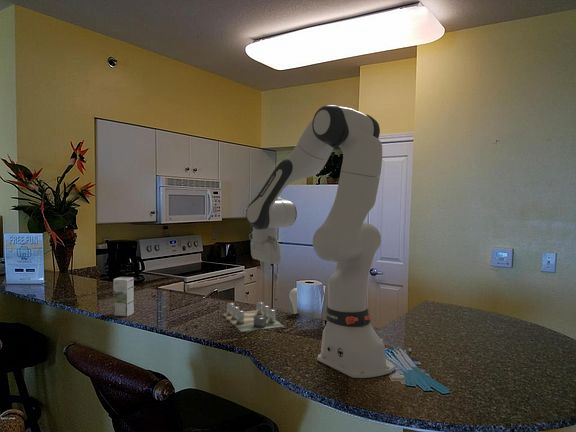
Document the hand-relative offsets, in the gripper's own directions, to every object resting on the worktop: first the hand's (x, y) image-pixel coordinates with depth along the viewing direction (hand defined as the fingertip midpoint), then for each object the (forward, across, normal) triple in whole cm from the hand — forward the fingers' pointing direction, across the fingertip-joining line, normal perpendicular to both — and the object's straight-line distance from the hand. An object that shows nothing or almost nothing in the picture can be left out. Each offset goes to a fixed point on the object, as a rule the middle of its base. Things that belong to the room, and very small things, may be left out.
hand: (265, 273), depth 150 cm
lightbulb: (+19, +5, -15) cm, 25 cm away
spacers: (+17, +6, +4) cm, 19 cm away
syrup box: (+18, +33, +46) cm, 60 cm away
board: (+18, +4, +4) cm, 19 cm away
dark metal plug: (+18, -4, +4) cm, 19 cm away
